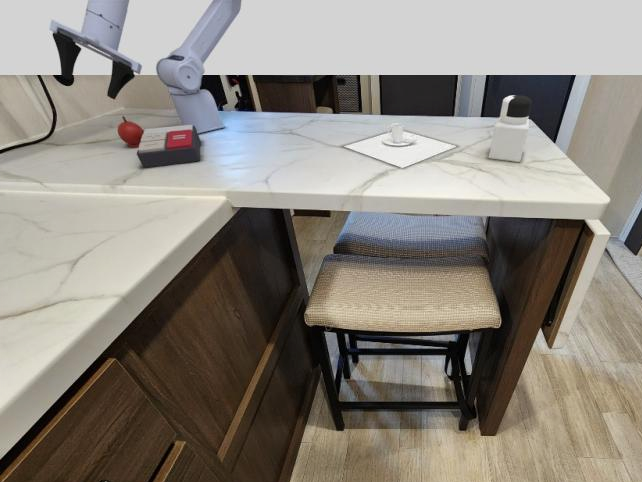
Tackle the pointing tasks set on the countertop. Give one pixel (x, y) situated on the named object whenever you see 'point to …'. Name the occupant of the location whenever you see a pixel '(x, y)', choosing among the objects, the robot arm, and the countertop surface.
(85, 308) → the countertop surface
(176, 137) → the grey box
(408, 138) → the teacup and saucer
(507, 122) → the medicine bottle
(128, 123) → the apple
